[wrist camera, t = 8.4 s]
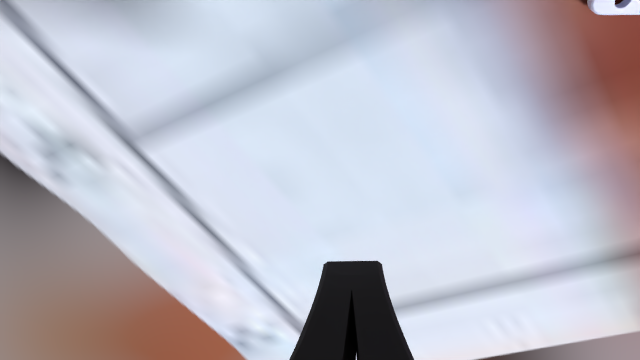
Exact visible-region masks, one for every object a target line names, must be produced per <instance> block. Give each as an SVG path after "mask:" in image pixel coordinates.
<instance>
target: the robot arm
mask: <svg viewBox="0 0 640 360" xmlns="http://www.w3.org/2000/svg"><path fill="white" fill-rule="evenodd" d="M587 4H588V7H589V9H590V10H591V11H593V12H594V13H596V14H599V15H640V0H623V1H622V2H621V3H619V4H616V5H615V0H588V2H587ZM356 354H357V360H414V358H413V356H412V354H411V352H410V349H409V347H408V345H407V342H406V340H405V337H404V335H403V332H402V330H401V327H400V325H399V322H398V320H397V317H396V314H395V312H394V309H393V306H392V303H391V300H390V297H389V293H388V290H387V286H386V283H385V278H384V274H383V268H382V264H381V263H380V262H378V261H338V262H327V263H325V264H324V266H323V271H322V275H321V279H320V283H319V286H318V290H317V293H316V296H315V299H314V302H313V304H312V307H311V310H310V313H309V315H308V318H307V320H306V323H305V325H304V328H303V330H302V333H301V335H300V337H299V340H298V342H297V345H296V347H295V349H294V351H293V353H292V355H291V357H290V360H356Z"/></svg>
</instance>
